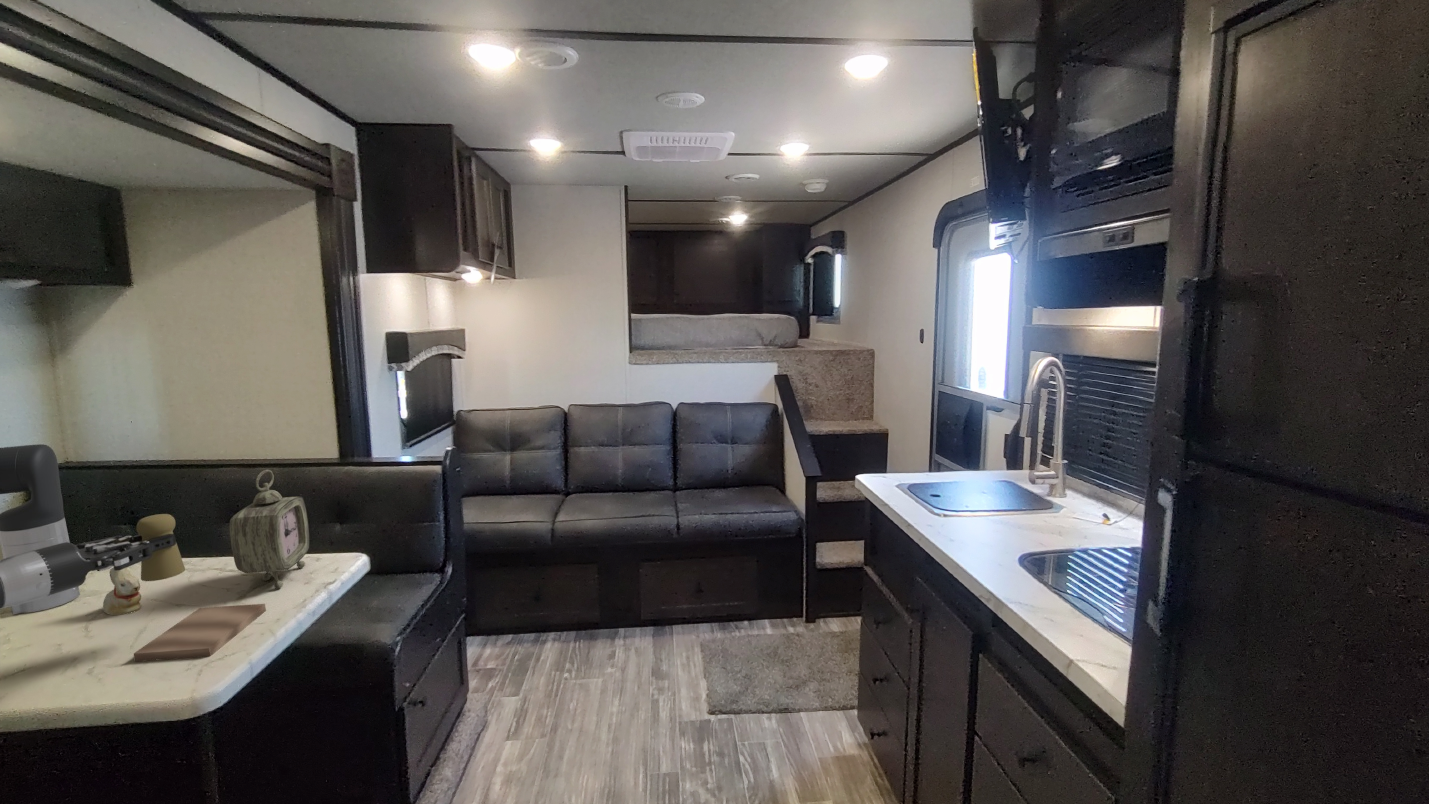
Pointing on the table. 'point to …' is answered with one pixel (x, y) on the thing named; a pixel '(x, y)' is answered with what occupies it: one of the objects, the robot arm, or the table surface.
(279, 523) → the tabletop clock
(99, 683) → the table surface
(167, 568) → the cork
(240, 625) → the walnut board
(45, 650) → the table surface
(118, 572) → the chocolate bunny
